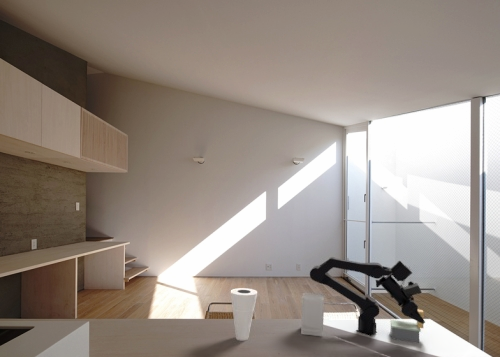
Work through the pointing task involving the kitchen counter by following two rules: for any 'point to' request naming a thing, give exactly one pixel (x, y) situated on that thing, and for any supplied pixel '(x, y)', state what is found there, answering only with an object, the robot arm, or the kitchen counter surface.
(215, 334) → the kitchen counter surface
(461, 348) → the kitchen counter surface
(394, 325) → the lid
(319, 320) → the supplement box
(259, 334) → the kitchen counter surface
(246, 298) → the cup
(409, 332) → the tub
